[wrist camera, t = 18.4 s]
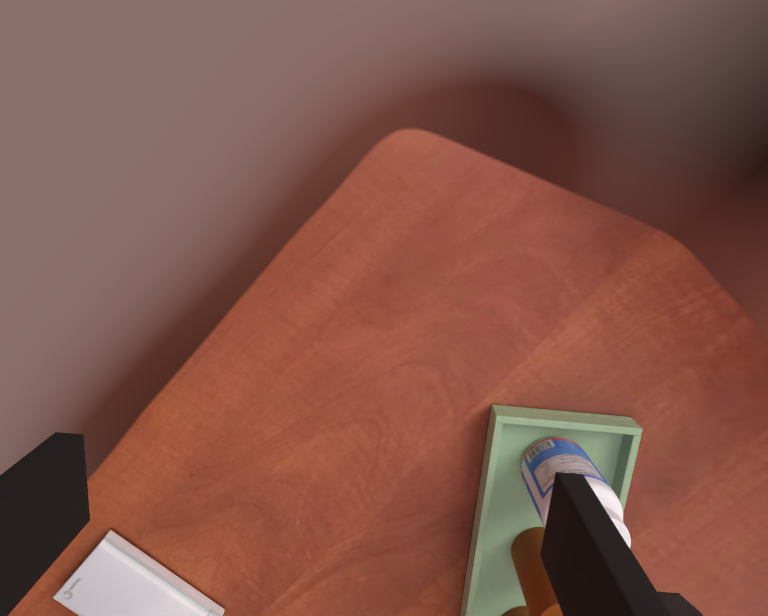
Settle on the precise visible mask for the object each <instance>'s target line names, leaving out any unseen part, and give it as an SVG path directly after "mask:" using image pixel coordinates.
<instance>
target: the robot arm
mask: <svg viewBox="0 0 768 616" xmlns="http://www.w3.org/2000/svg"><path fill="white" fill-rule="evenodd" d="M89 521H90V515H89V502H88V489H87V477H86V464H85V450H84V438H83V435H82V434H70V433H57V432H56V433H54V434H53V435H52V436H50V437H49V438H48V439H46V440H45V441H44V442H43V443H41V444H40V445H39V446H37V447H36V448H35V449H34V450H33V451H31V452H30V453H29V454H27V455H26V456H25V457H23V458H22V459H21V460H20V461H18V462H17V463H16V464H14V465H13V466H12V467H11V468H9V469H8V470H7V471H5V472H4V473H3V474H2V475H0V616H8V615H9V613H10V612H11V611H12V610H13V609H14V608H15V606H16V605H17V604H18V603H19V602H20V601H21V599H22V598H23V597H24V596H25V595H26V594H27V593H28V591H29V590H30V589H31V588H32V587H33V586H34V584H35V583H36V582H37V581H38V580H39V579H40V577H41V576H42V575H43V574H44V573H45V572H46V570H47V569H48V568H49V567H50V566H51V565H52V564H53V562H54V561H55V560H56V559H57V558H58V557H59V555H60V554H61V553H62V552H63V551H64V550H65V548H66V547H67V546H68V545H69V544H70V543H71V541H72V540H73V539H74V538H75V537H76V536H77V535H78V533H79V532H80V531H81V530H82V529H83V528H84V526H85V525H86V524H87V523H88V522H89ZM540 557H541V559H542V562H543V564H544V567H545V570H546V572H547V575H548V577H549V580H550V583H551V585H552V588H553V590H554V593H555V596H556V598H557V601H558V603H559V606H560V609H561V611H562V614H563V616H703V615H702V613H700V612H699V611H698V610H697V609H696V608H695V607H694V606H692V605H691V604H690V603H689V602H688V601H687V600H686V599H684V598H683V597H682V596H681V595H680V594H679V593H667V592H657V591H656V590H655V588H654V586H653V585H652V583H651V582H650V580H649V579H648V577H647V575H646V574H645V572H644V571H643V569H642V567H641V566H640V564H639V563H638V561H637V559H636V558H635V556H634V555H633V553H632V551H631V550H630V548H629V547H628V545H627V543H626V542H625V540H624V539H623V537H622V536H621V534H620V532H619V531H618V529H617V528H616V526H615V524H614V523H613V521H612V520H611V518H610V516H609V515H608V513H607V512H606V510H605V508H604V507H603V505H602V504H601V502H600V500H599V499H598V497H597V496H596V494H595V492H594V491H593V489H592V488H591V486H590V485H589V483H588V481H587V480H586V478H585V477H584V475H583V474H575V473H563V472H555V478H554V483H553V488H552V494H551V499H550V505H549V510H548V515H547V521H546V526H545V531H544V537H543V542H542V547H541V553H540Z"/></svg>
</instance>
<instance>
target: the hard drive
mask: <svg viewBox="0 0 768 616" xmlns="http://www.w3.org/2000/svg"><path fill="white" fill-rule="evenodd" d="M53 599H55V600H57V601H58V602H59V603H61V604H62V605H64V606H66V607H67V608H69V609H70V610H72V611H73V612H75V613H76V614H78V615H79V616H223V614H224V611H225V609H223V608H222V607H221V606H219V605H218V604H216V603H215V602H213V601H212V600H210V599H209V598H208V597H206V596H205V595H203V594H202V593H201V592H199V591H198V590H196V589H195V588H193V587H192V586H191V585H189V584H188V583H186V582H185V581H183V580H182V579H181V578H179V577H178V576H176V575H175V574H173V573H172V572H170V571H169V570H168V569H166V568H165V567H163V566H162V565H161V564H159V563H158V562H156V561H155V560H153V559H152V558H150V557H149V556H148V555H146V554H145V553H143V552H142V551H140V550H139V549H138V548H136V547H135V546H133V545H132V544H130V543H129V542H128V541H126V540H125V539H123V538H122V537H120V536H119V535H117V534H116V533H115V532H113V531H112V530H110V531H109V532H108V533H107V534H106V535H105V537H104V538H103V539H102V540H101V541H100V542H99V544H98V545H97V546H96V547H95V548H94V549H93V550H92V552H91V553H90V554H89V555H88V556H87V557H86V559H85V560H84V561H83V562H82V563H81V564H80V565H79V567H78V568H77V569H76V570H75V571H74V572H73V574H72V575H71V576H70V577H69V578H68V579H67V580H66V582H65V583H64V584H63V585H62V586H61V587H60V589H59V590H58V591H57V592H56V593H55V595H54V596H53Z"/></svg>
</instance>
